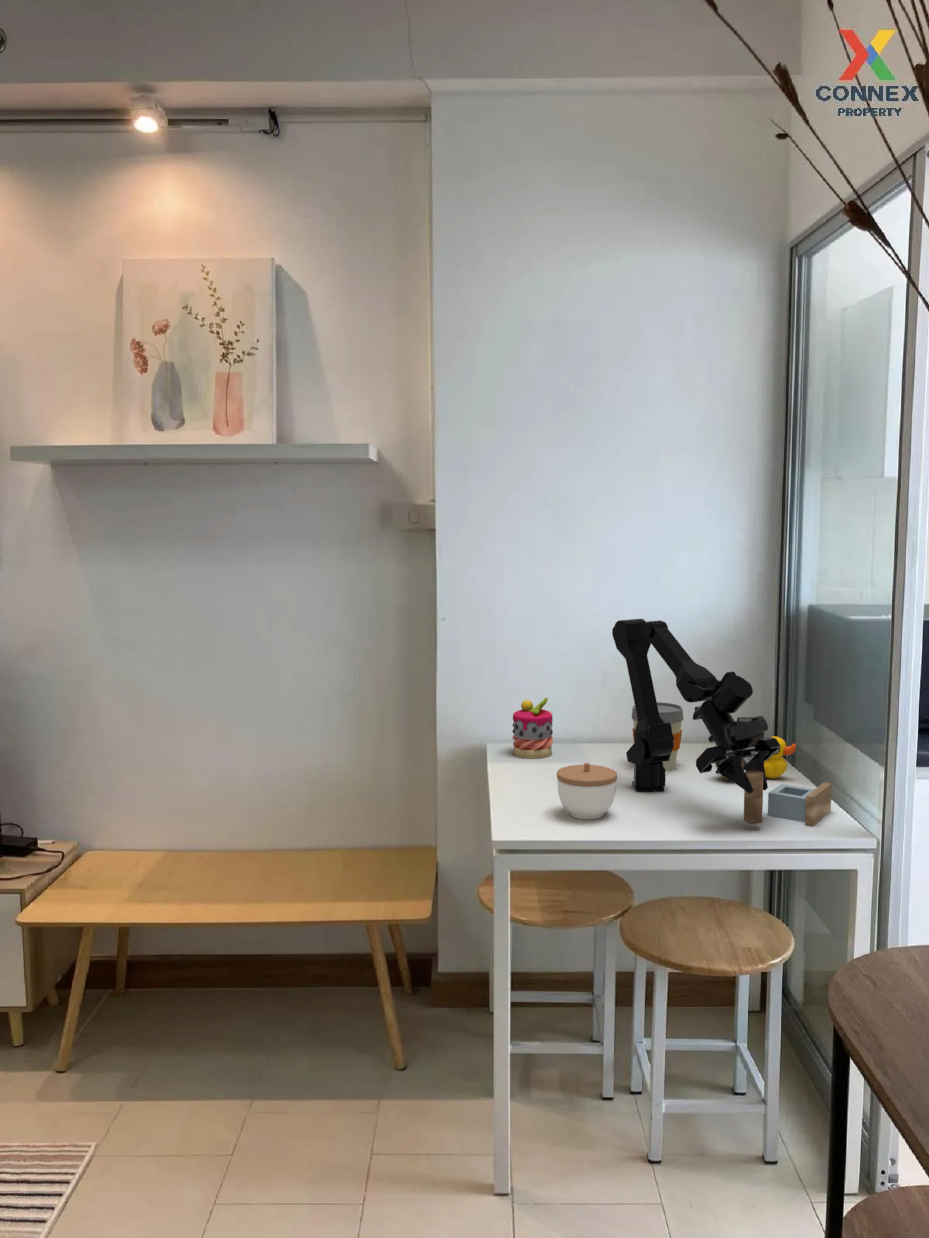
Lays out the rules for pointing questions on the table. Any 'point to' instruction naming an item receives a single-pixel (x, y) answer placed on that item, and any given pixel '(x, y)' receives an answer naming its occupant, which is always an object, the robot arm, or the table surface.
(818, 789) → the backstop board
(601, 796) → the lidded bowl
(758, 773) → the dowel
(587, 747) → the table surface
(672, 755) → the reusable coffee cup
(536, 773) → the table surface
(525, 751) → the cake
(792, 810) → the socket block
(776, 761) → the duckling
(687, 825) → the table surface
